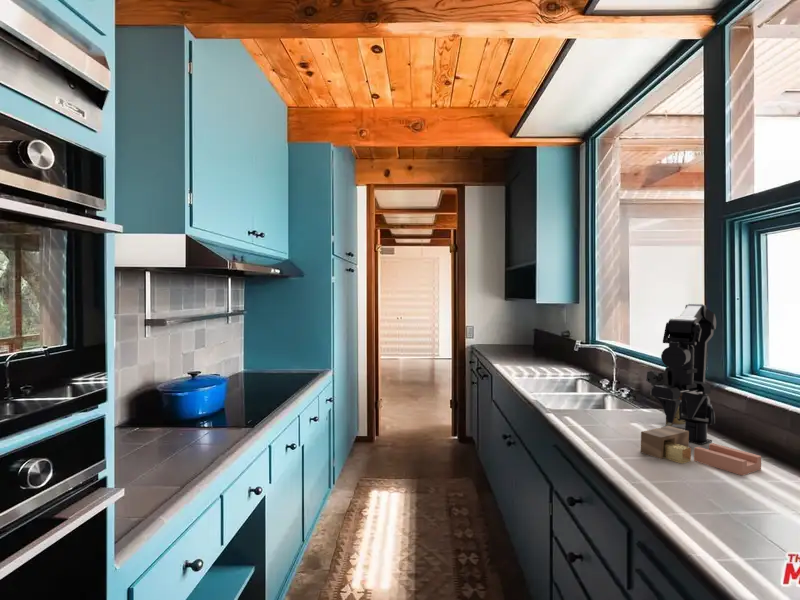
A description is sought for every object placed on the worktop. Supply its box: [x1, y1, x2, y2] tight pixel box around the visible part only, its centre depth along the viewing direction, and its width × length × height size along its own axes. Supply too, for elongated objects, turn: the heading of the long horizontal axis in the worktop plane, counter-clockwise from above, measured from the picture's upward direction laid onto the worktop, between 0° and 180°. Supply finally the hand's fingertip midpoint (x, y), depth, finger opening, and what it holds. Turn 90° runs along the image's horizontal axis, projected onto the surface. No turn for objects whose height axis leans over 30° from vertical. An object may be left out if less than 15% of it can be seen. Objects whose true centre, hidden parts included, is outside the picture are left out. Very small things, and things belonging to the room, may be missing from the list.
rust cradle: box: [693, 442, 762, 476], centre depth 128 cm, size 9×12×4 cm
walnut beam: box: [640, 426, 690, 460], centre depth 138 cm, size 13×6×6 cm, turn 119°
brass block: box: [662, 440, 692, 465], centre depth 135 cm, size 12×4×4 cm, turn 29°
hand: (680, 420), depth 131 cm, fingers open, 9 cm apart
